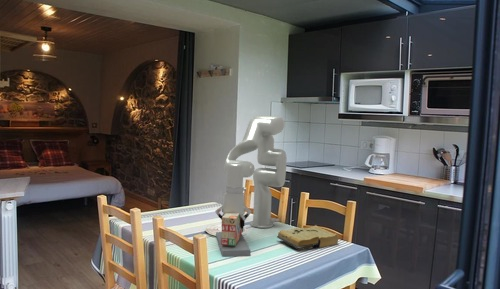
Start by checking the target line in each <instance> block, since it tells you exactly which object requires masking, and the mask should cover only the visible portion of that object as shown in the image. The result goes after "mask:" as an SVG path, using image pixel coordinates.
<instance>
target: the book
mask: <svg viewBox="0 0 500 289" xmlns="http://www.w3.org/2000/svg"><path fill="white" fill-rule="evenodd" d="M339 237H340V236H339V235H338V233H333V232H331V231H328V230H327V229H324V228H321V227H320V226H318V225H317V224H315V225H314V226H310V227H294V228H293V227H292V228H291V229H287V230H286V229H283V230H282V229H281V230H279V231H278V233H277V235H276V238H277V239H279V240H281V241H283V242H284V243H285V244H286V245H289V246H290V247H292V248H294V249H296V250H298V251H302V250H308V249H325V248H328V247H329V248H330V247H335V246H339V239H340V238H339Z"/></svg>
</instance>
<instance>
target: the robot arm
mask: <svg viewBox="0 0 500 289" xmlns="http://www.w3.org/2000/svg"><path fill="white" fill-rule="evenodd" d="M284 128H285V120H284V118H283V117H282V116H279V115H256V116H253V118H252V119H250V120H249V121H248V124H247V127H246V128H245V129H246V130H245V133H244V134H243V135H244V136H243V137H242V140H241V142H239V143H238V144H236V145H235V146H234V147H233V148H231V149H230V151H229V152H228V154H227V156H226V158H225V162H224V164H223V165H224V166H223V171H224V173H225V175H226V179H225V180H226V182H225V183H226V184H225V192H223V197H222V202H221V203H222V205H221V206H220V207H219V208H217V209H216V210H214V211H215V214H216V215H217V217H218V218H219V219H221V221H222V217H223V216H224V215H225V214H226V213H240V215H241V217H242V219H241V229H243V230H244V227H246V226H245V225H246V224H245V223H246V220H247V219H248V218H249V216H250V215H251V213H252V210H251V209H250V208H248V207H247V206H246V201H245V200H246V199H245V194H244V191H246V190H247V187H244V178H250V177H252V180H253V186H254V187H253V213H252V220H251V221H250V223H249V225H250V227H252V228H257V229H269V228H272V227H273V226H274V223H279V222H280V219H279V218H276V217H271V216H272V215H271V213H272V191H271V190H270V189H271V188H269V187H273V188H283V187H284V185H285V184H286V174H287V162H288V161H287V160H288V159H287V153H286V151H285V150H284V149H281V148H280V149H279V148H275V147H274V146H275V138H274V136H276V135H278V134H280V133H282V132H283V130H284ZM256 150H257V157H256V158H257V163H258V164H259V165H261V166H266V167H258V168H255V165H254V164H253V163H252V162H251V161H248V160H238V158H239V157H241V156H243V155H245V154H249V153H251V152H254V151H256ZM269 167H275V168H269ZM220 212H222V214H221V213H220Z"/></svg>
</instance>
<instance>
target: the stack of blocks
mask: <svg viewBox="0 0 500 289" xmlns="http://www.w3.org/2000/svg"><path fill="white" fill-rule="evenodd" d="M241 219H242V217H241V215H240V213H226V214H225V215H224V216H223V217H222V220H221V232H222V238H221V245H231V246H235V245H236V243H237V242H238V240H239V238H240V236H241V234H242V235H243V232H244V228H243V229H241Z"/></svg>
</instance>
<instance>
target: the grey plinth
mask: <svg viewBox="0 0 500 289" xmlns="http://www.w3.org/2000/svg"><path fill="white" fill-rule="evenodd" d="M221 238H222V231H216V232H215V239H216V241H217V245H218V248H219V251H220V253H221V256H222V258H223V257H225V258H226V257H250V256H251V252H252V250H251V248H250V247H249V245H248V243H247V241H246V239H245V237H244V235H243V233H242V234H241V236H240V238H239V240H238V242H237V243H236V245H235V246H231V245H221Z"/></svg>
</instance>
